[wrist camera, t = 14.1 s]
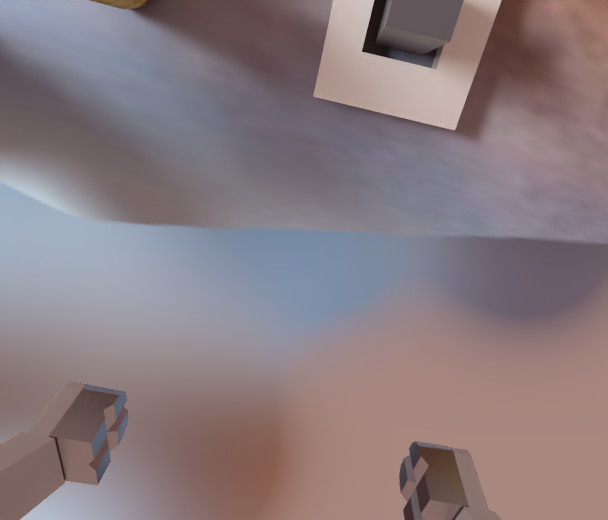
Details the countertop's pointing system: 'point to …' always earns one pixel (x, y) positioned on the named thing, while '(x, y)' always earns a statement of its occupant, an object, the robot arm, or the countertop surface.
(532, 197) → the countertop surface
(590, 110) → the countertop surface
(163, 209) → the countertop surface
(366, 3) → the socket
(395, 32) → the plug
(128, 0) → the sauce bottle
